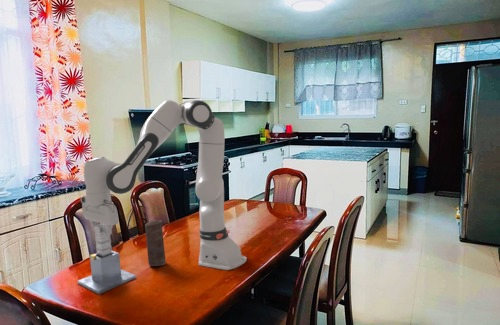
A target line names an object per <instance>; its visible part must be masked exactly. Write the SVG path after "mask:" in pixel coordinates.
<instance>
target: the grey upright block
mask: <svg viewBox="0 0 500 325" xmlns="http://www.w3.org/2000/svg"><path fill="white" fill-rule="evenodd" d="M144 228H145V237H146V251H147V261H148V265H149V266H151V267H158V266H165V265H166V264H167V261H166V252H165V242H164V231H163V222H162V220H159V219H158V220H156V219H155V220H150V221H148V222H146V223H145V224H144Z"/></svg>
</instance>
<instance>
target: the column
mask: <svg viewBox="0 0 500 325" xmlns="http://www.w3.org/2000/svg"><path fill="white" fill-rule="evenodd" d="M94 230H95V231H94V237H95V238H94V239H95V240H94V242H95V250H96V253H97V257H100V258H104V257H106V256H109V255H112V251H113V250H112V249H113V246H112V243H111V242H112V239H111V235H106V232H105V230H107V227H106V224H102V223H97V225H94ZM111 250H112V251H111Z"/></svg>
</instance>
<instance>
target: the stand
mask: <svg viewBox="0 0 500 325" xmlns="http://www.w3.org/2000/svg"><path fill="white" fill-rule="evenodd" d="M111 251H112V255H109V256H106V257H104V258H100V257H97V252H96V253H93V254H90V255H89V261H90V270H91V275H89V276H85V277H84V278H81V279H79V280H77V284H78V285H79V286H82V287H84V288H86V290H89V291H92V292H93V293H95V294H97V295H101V294H102V293H103V294H104V293H106V292H108V291H110V290H113V289H114V288H117V287H119V286H122V285H123V284H125V283H128V282H130V281H133V280H135V279H137V276H136V274H134V273H131V272H128V271H127V270H123V269H121V260H120V253H119V252H117V251H114V250H112V249H111Z"/></svg>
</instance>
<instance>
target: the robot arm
mask: <svg viewBox="0 0 500 325" xmlns="http://www.w3.org/2000/svg"><path fill="white" fill-rule="evenodd" d="M180 124H183V125H185V126H189V127H192V128H197V129H198V134H199V139H198V140H199V141H198V163H197V169H196V177H195V178H196V179H195V187H194V188H195V195H196V197H197V198H198V200H199V210H198V211H199V212H198V213H199V225H200V227H199V238H200V244H199V245H200V246H199V255H198V266H202V267H205V268H206V267H207V268H213V269H218V270H224V271H229V270H233V269H236V268H239V267H240V266H242V265H243V264H245V263H246V262H247V259H248V258H247V256H245V255H243V254H242V250H241V247H240V246H239V245H238V244H237V243H236V242H235V241H234V240H233V239H232V238H231V237H230V236H229V234H230V231H231V230H227V227H226V224H225V186H224V185H225V184H224V183H225V182H224V179H223V172H224V171H223V170H224V162H225V161H224V160H225V143H226V142H225V138H226V137H225V126H224V123H223V121H222V120H221V119H219V117H218V118H217V117H215V115H214V113H213V110H212V109H211V106H210V105H209V104H208V103H207V102H205V101H203V100H199V99H198V100H197V99H196V100H195V99H192V100H189V101H185V102H182V103H180V104H178V103H177V102H176V101H174V100H171V99H167V100H164V101H163V102H162V103H161V104H159V105H158V106H157V107H156V108H155V109H154V110H153V111H152V113H151V114H150V115H149V116H148V117H147V119H146V120H145V122H144V123H143V126H142V127H141V129H140V132H139V133H140V134H139V138H138V141H137V143H136V145H135V146H134V148H133V149H132V151H131V152H130V154H129V155H128V156H127V157H126V158H125V160H124V161H123V163H119V162H115V161H112V160H110V159H108V158H106V157H105V156H99V157H98V156H97V157H93V158H91V159H88V160H87V161H86V162H85V163H84V165H83V179H84V185H85V187H86V188H85V195H83V196H81V197H80V203H81V205H82V206H81V208H82V215H83V217H84V219H85V220H89V221H90V224H91V228H92V231H94V232H95V230H94V225H97V224H100V223H102V224H106V227H107V230H105V232H106V235H110V236H111V235H112V232H113V227H114V226H115V225H117V224H118V223H119V222H120V220H119V214H118V209H117V206H116V205H115V204H114V202H113V201H112V194H111V192H112V193H115V194H116V195H117V194H118V195H121V194H126V193H128V192H130V191H131V190H132V189H133V188H134V187H135V183H136V179H137V175H138V174H139V171H140V170H141V169H142V167H143V166H144V164H146V162H147V160H148V159H149V158H150V156H151V155H152V154H153V152H155V151H156V150H157V149H158V148H159V147H160V146H161V145H162V144H163V143H164V142H166V140H167V139H168V138H169V137H170V136H171V135H172V134H173V132H174V131H175V129H176V128H177V127H179V125H180Z"/></svg>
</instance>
